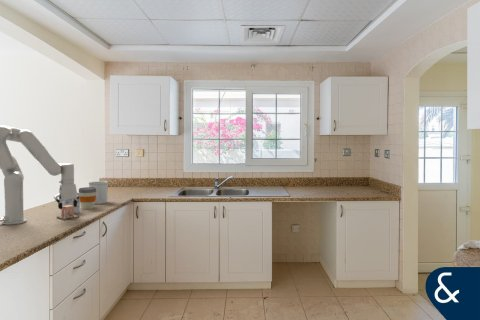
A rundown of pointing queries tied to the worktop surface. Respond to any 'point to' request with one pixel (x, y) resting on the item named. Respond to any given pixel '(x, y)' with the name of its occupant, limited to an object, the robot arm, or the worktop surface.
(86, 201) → the reusable coffee cup
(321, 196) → the worktop surface
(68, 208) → the pink notched block
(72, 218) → the walnut board
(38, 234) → the worktop surface
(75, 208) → the light bulb box
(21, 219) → the robot arm
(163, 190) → the worktop surface
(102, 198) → the utensil holder
